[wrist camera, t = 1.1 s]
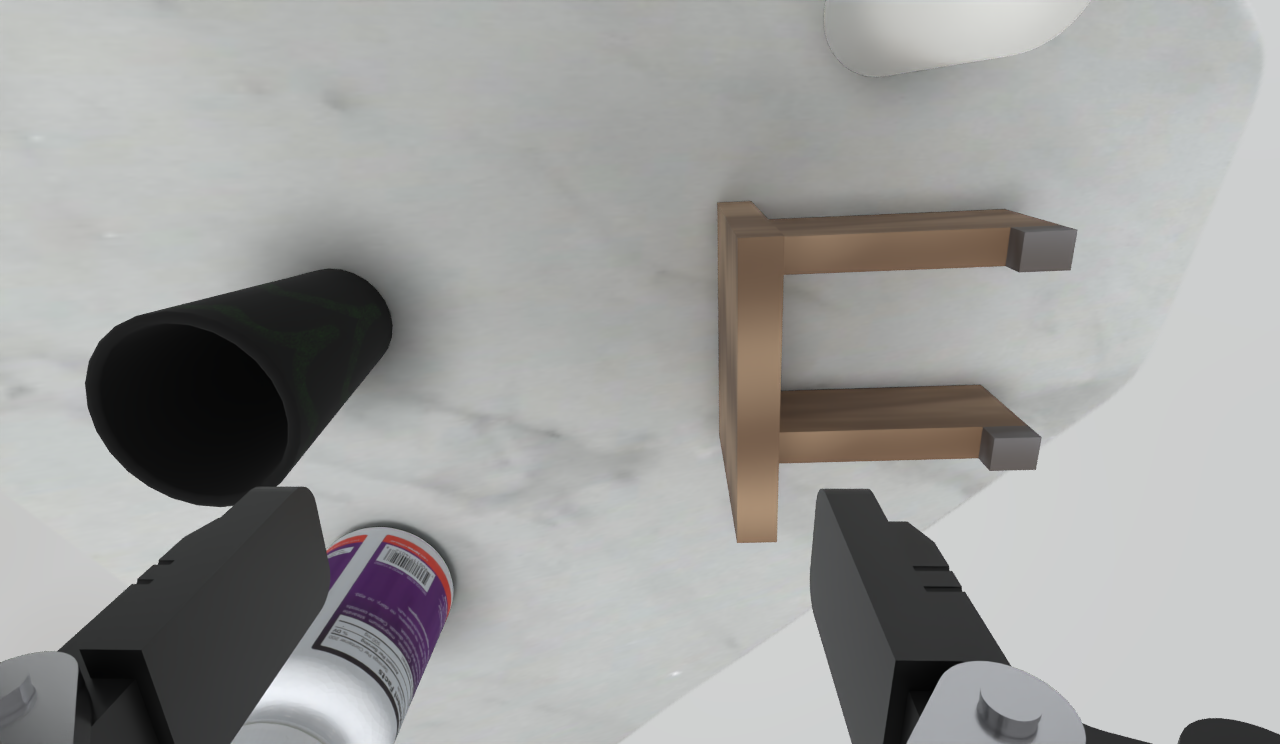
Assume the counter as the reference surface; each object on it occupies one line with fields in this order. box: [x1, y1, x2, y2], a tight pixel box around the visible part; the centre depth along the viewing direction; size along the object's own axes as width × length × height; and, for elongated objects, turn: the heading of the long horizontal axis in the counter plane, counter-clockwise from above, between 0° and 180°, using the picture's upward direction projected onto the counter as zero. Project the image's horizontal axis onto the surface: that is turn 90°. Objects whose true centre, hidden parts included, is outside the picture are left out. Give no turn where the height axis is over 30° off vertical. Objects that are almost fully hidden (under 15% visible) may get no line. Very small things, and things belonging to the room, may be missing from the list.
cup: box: [85, 269, 392, 507], centre depth 30 cm, size 8×8×12 cm
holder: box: [717, 201, 1077, 543], centre depth 30 cm, size 12×14×10 cm
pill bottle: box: [231, 527, 453, 744], centre depth 35 cm, size 8×8×14 cm
